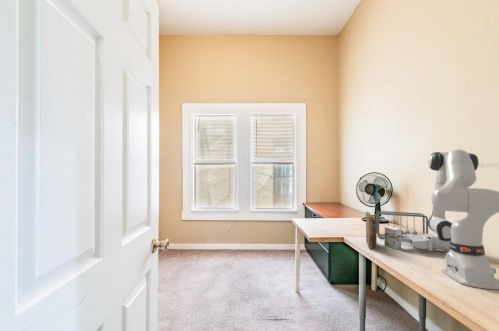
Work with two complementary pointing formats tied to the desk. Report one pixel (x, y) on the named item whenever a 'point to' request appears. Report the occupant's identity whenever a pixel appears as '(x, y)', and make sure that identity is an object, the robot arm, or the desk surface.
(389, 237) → the ink box
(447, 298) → the desk surface
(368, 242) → the headboard
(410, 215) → the newton's cradle
